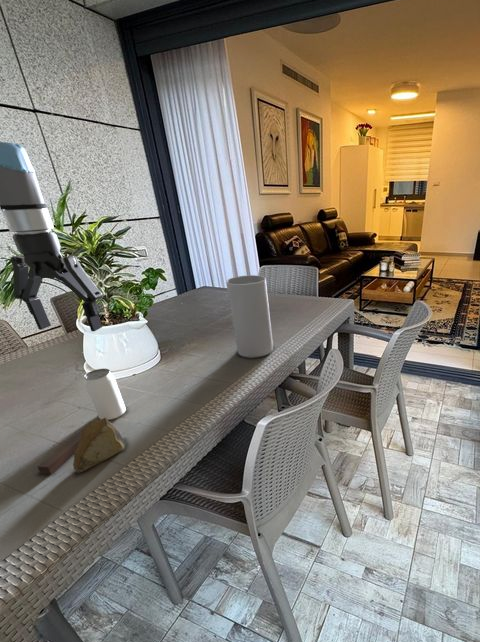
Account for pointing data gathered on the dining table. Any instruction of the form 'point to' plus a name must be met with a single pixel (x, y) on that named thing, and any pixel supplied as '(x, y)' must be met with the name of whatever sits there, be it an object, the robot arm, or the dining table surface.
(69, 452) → the walnut stick
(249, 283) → the cylinder vase
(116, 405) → the can
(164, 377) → the dining table surface
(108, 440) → the rock
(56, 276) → the robot arm
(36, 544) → the dining table surface
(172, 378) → the dining table surface
